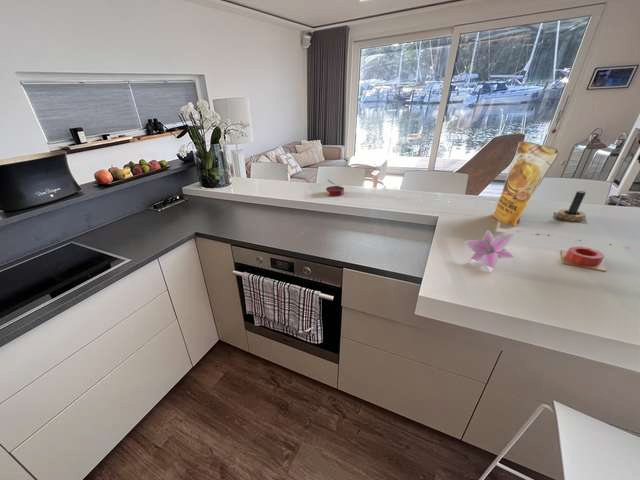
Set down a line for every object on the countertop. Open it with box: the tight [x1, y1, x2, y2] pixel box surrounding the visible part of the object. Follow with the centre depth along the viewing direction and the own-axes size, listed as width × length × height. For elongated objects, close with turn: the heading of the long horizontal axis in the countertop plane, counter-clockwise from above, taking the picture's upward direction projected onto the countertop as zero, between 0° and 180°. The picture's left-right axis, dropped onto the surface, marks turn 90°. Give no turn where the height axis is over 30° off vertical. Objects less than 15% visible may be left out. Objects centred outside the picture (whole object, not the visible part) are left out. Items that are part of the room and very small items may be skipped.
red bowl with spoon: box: [325, 178, 345, 197], centre depth 159 cm, size 11×10×10 cm
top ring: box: [566, 246, 605, 266], centre depth 83 cm, size 7×7×2 cm
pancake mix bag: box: [492, 140, 559, 227], centre depth 105 cm, size 7×19×28 cm, turn 170°
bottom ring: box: [557, 208, 586, 222], centre depth 106 cm, size 7×7×2 cm
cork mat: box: [560, 249, 607, 272], centre depth 84 cm, size 9×9×1 cm
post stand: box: [553, 190, 588, 225], centre depth 105 cm, size 9×9×11 cm
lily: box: [464, 229, 515, 269], centre depth 86 cm, size 12×12×10 cm
